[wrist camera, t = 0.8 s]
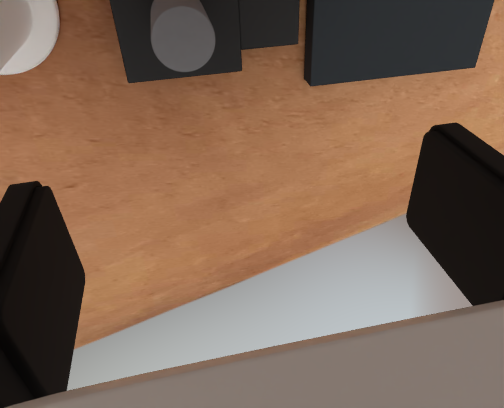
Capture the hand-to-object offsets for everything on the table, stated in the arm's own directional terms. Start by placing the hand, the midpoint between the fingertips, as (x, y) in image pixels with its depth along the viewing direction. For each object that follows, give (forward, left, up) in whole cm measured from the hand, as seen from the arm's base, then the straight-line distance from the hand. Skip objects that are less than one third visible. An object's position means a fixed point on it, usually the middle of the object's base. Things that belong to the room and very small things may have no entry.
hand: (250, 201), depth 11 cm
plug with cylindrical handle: (-1, +1, -19) cm, 19 cm away
